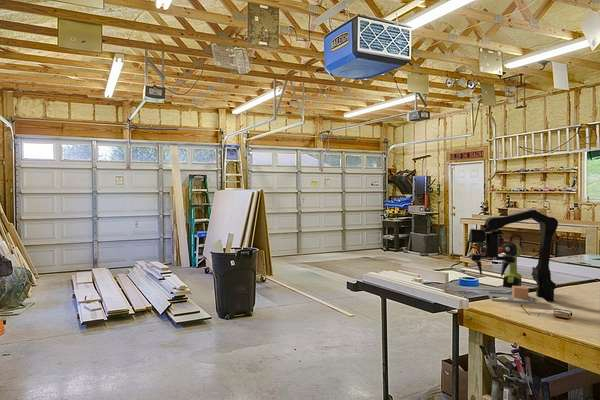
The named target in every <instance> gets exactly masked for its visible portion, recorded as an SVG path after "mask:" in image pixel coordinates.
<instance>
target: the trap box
mask: <svg viewBox="0 0 600 400" xmlns="http://www.w3.org/2000/svg"><path fill="white" fill-rule="evenodd" d="M485 292H486V294H487V296H488V297H489V299H490V300H491V301H492V302H502V303H505V302H507V303H515V304H516V303H520V304H533V305H535V304H536V301H535V300H534V299H533V298H532V297H531V296H530V295H528V298H515V297H513V296H512V292H508V291H507V292H505V291H491V290H490V291H488V290H487V291H485ZM494 297H497V298H494ZM500 298H501V299H500ZM502 298H507V299H502ZM514 299H515V300H514ZM516 299H517V300H516ZM518 299H519V300H518Z"/></svg>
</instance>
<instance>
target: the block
mask: <svg viewBox="0 0 600 400" xmlns="http://www.w3.org/2000/svg"><path fill="white" fill-rule="evenodd" d="M511 293H512V296H513V297H515V298H514V299H516V298H528V296H529V288H528V287H527V286H523V285H521V286H512V288H511Z"/></svg>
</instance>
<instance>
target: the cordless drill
mask: <svg viewBox="0 0 600 400" xmlns="http://www.w3.org/2000/svg"><path fill="white" fill-rule="evenodd" d="M522 251H523V250H522V248H521V246H520V245H519V244H518V243H516V242H511V241H510V242H507V243H506V244H505V245H504V247H503V252H504V255H511V256H512V257H514V263H511V264H509V265H508V267H509V271H508V272H507V273H505V274H503V279H502V280H503V281H502V288H509V289H512V286H522V277H523V276H522V275H523V274H521V273H519V272H518V267H517V266H518V261H517V258H518V257H519V256H521V254H522V253H523V252H522Z"/></svg>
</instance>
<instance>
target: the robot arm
mask: <svg viewBox="0 0 600 400" xmlns="http://www.w3.org/2000/svg"><path fill="white" fill-rule="evenodd" d="M531 219H532V220H533V221H535V222H536V223H538V224H539V231H540V234H541V238H540V244H539V251H538V258H537V259H538V260H537V264H536V266H532V272H531V276H532V279H533V281H535V283H536V285H537V288H536V291H535V293H536V297H537V298H542V299H543V300H544V301H546V302H550V303H551V302H552V303H553V302H554V303H555V302H556V300H555V289H556V287H557V284H556V283H555V282H554V281H553V280H552V277H551V276H552V274H551V270H550V260H551V259H550V258H551V253H552V252H551V251H552V243H553V236H554V235H555V233H556V232H557V230H558V226H559V222H558V221H559V220H557V218H556V217H554V216H553V217H552V216H548V215H546V214H543V213H542V212H539V211H538V210H536V209H532V208H531V209H527V210H524V211H521V212H520V211H519V212H517V213H513V214H508V215H505V216H503V215H502V216H492V217H491V216H490V217H489V216H488V217H487V218H486V219H485V222H484V224H483V225H482V227H480V228H479V229H476V228H470V229H469V230H470V231H469V234H468V242H469V243H470V244H483V243H485V246H480V247H479V252H480V253H470V260H471V261H473V262H474V263H475V264H476V265H477V268H478V271H479V274H480V276H483V271H482V261H481V260H486V261H487V260H488V261H489V260H490V261H501V270H500V276H501V277H504V275H505V274H504V273H505V271H506V270H507V268H508V267H509V264H511V263H514V257H512V256H511V255H506V254H503V255H502V256H499V250H500V249H499V245H500V244H499V239H500V235H502V236H503V235H504V232H502V230H501V229H502V228H503V227H505V226H507V225H510V224H513V223H519V222H522V221H527V220H531ZM481 254H483V255H481Z"/></svg>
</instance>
